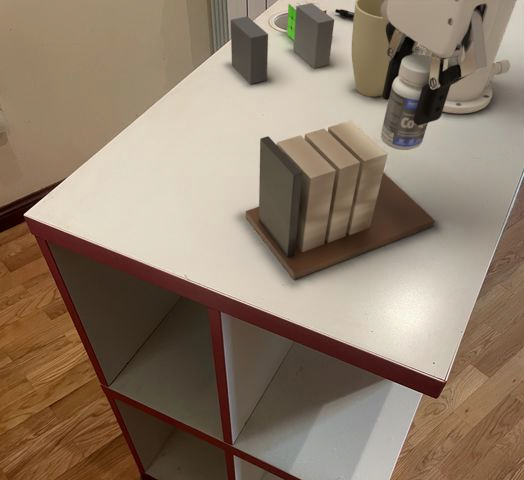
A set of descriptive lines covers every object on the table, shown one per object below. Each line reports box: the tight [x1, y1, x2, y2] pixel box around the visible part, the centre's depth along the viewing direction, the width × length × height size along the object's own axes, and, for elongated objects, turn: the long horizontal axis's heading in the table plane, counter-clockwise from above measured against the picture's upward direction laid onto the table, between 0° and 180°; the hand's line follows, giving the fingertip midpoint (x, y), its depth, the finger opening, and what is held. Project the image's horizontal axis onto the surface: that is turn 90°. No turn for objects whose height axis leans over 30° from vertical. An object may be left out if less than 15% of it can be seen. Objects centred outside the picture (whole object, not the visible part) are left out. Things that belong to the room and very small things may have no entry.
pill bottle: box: [380, 53, 431, 151], centre depth 55 cm, size 5×5×8 cm
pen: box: [334, 8, 354, 19], centre depth 96 cm, size 14×2×1 cm, turn 58°
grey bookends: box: [230, 3, 335, 85], centre depth 84 cm, size 15×7×7 cm, turn 118°
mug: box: [351, 0, 431, 97], centre depth 78 cm, size 11×10×12 cm
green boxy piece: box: [286, 0, 328, 41], centre depth 91 cm, size 5×5×5 cm
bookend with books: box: [245, 120, 436, 280], centre depth 59 cm, size 20×12×12 cm, turn 118°
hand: (410, 106), depth 55 cm, fingers closed on pill bottle, 4 cm apart
